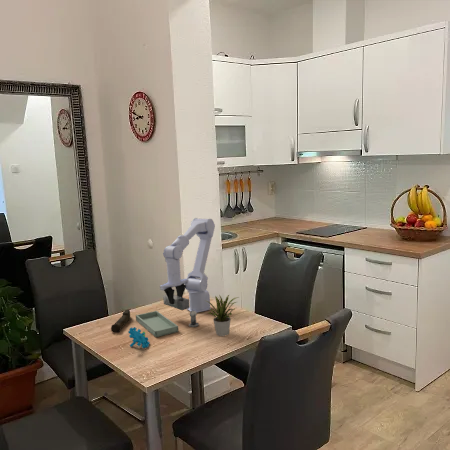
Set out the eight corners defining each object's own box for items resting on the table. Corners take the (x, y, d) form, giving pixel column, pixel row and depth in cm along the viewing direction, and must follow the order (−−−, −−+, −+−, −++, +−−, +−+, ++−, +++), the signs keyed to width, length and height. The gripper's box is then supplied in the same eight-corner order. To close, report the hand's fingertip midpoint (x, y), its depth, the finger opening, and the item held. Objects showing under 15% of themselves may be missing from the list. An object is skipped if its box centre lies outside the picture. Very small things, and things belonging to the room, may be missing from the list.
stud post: (196, 322, 201) (195, 308, 200) (200, 325, 197) (199, 310, 196) (187, 325, 198) (186, 310, 197) (191, 328, 195) (190, 313, 194)
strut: (170, 301, 210) (170, 293, 209) (189, 308, 200) (188, 299, 200) (163, 304, 207) (163, 295, 207) (182, 310, 197) (181, 301, 197)
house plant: (250, 332, 187) (248, 294, 184) (227, 343, 177) (225, 303, 174) (224, 325, 196) (222, 288, 194) (201, 335, 186) (199, 296, 184)
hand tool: (120, 333, 193) (119, 323, 192) (111, 333, 194) (110, 322, 193) (135, 317, 212) (134, 308, 211) (127, 317, 212) (126, 308, 212)
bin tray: (157, 315, 212) (156, 310, 212) (178, 331, 191) (178, 326, 191) (136, 320, 207) (135, 315, 207) (155, 337, 186) (155, 331, 186)
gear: (144, 348, 172) (126, 329, 173) (134, 359, 172) (116, 339, 174) (155, 341, 182) (138, 322, 184) (145, 351, 183) (128, 332, 185)
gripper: (166, 277, 194) (167, 308, 196) (192, 270, 204) (193, 300, 206) (156, 274, 199) (158, 304, 201) (182, 268, 209) (184, 297, 211)
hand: (175, 302), depth 204 cm, fingers closed on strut, 4 cm apart
